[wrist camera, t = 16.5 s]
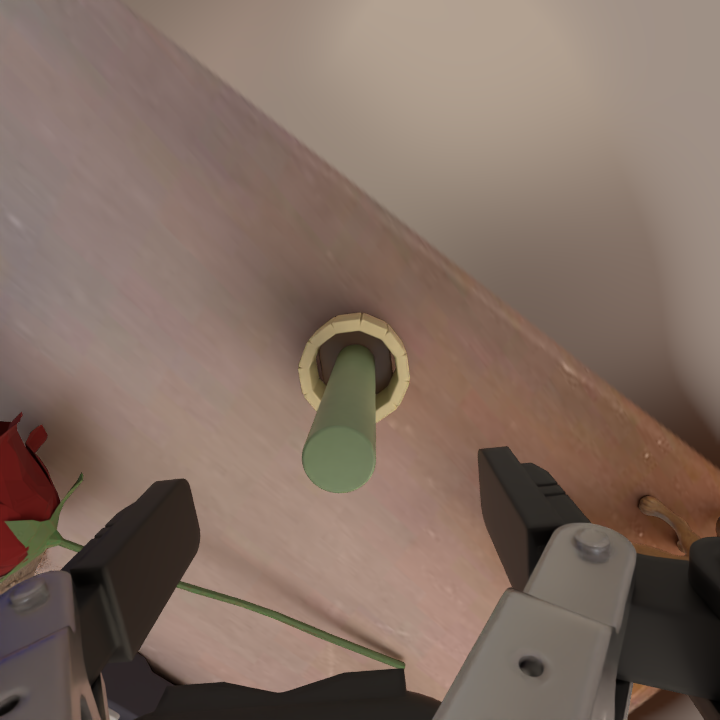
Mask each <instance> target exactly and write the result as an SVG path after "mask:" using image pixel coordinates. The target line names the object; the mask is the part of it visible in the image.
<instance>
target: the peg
mask: <svg viewBox="0 0 720 720" xmlns="http://www.w3.org/2000/svg"><path fill="white" fill-rule="evenodd" d="M319 356H320V363H321V369H322V375H323V381H324V384H325V385H326V389H325V391H324V394H323V397H322V400H321V402H320V405H319V408H318V410H317V413H316V416H315V418H314V421H313V424H312V426H311V429H310V432H309V434H308V437H307V440H306V442H305V445H304V448H303V452H302V464H303V468H304V470H305V472H306V474H307V476H308V477H309V479H310V480H311V481H312V482H313V483H314V484H315V485H316V486H318V487H319V488H321V489H323V490H325V491H329V492H333V493H347V492H351V491H354V490H356V489H358V488H360V487H361V486H362V485H364V484H365V483H366V482H367V481H368V480H369V479H370V477H371V476H372V474H373V472H374V469H375V465H376V407H375V394H378V393H379V392H381V391H382V390H384V389H385V388H386V387H388V385H389V382H390V380H391V378H392V376H393V373H392V364H391V356H390V350H389V349H388V348H387V346H386V345H385V344H384V342H383V341H382V340H381V339H379V338H376V337H374V336H371V335H369V334H366V333H364V332H361V331H353V332H345V333H338V334H335V335H334V336H332V337H331V338H330V339H328V340H327V341H326V342H325V343H323V344H322V345H321V346H320V349H319Z"/></svg>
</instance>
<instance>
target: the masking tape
mask: <svg viewBox="0 0 720 720" xmlns="http://www.w3.org/2000/svg"><path fill="white" fill-rule="evenodd" d="M353 331H361V332H364V333H366V334H369V335H371V336H374V337H376V338H379V339H381V340H382V341H383V342H384V344H385V345H386V346H387V348H388V349H389V350H390V351H391V353H392V354H393V355H394V357H395V365H396V369H395V371H394V373H393V376H392V378H391V380H390V382H389V385H388V387H386V388H385V389H384V390H382V391H381V392H379V393H378V394H377V395H375V407H376V423H377V422H379V421H380V420H382V419H383V418H384V417H386V416H387V415H389V414H390V413H391V412H393V411H394V410H396V409H397V406H399V405H400V403H401V401H402V399H403V397H404V394H405V392H406V390H407V388H408V386H409V380H410V375H409V367H408V358H407V353H406V350H405V348H404V345H403V342H402V341H401V339H400V338H399V337H398V336H397V334H396V333H395V332H394V330H393V329H392V328H391V326H390V325H389V324H386V322H385V321H383V320H380V319H378V318H375V317H373V316H370V315H368V314H366V313H363V314H361V313H352V314H345V315H338V316H336V317H333V318H332V319H331V320H329V321H328V322H327V323H325V324H324V325H323V326H322V327H320V328H319V329H318V330H317V331H316V332H315V333H314V334H313V335H312V337H311V338H310V339H309V341H308V342H307V344H306V346H305V349H304V351H303V354H302V357H301V359H300V362H299V365H298V366H299V368H298V373H299V379H300V384H301V390H302V394H304V397H305V399H306V400H307V401H308V402H309V403H310V405H311V406H312V407H313V408H314V409H315V411H316V412H317V410H318V408H319V405H320V402H321V400H322V397H323V394H324V391H325V389H326V385H325V384H324V383H323V382H322V380H321V379H320V378H319V373H318V367H317V361H316V356H317V354H318V351H319V349H320V346H321V345H322V344H323V343H325V342H326V341H327V340H328V339H330V338H331V337H332V336H334V335H335V334H338V333H345V332H353Z"/></svg>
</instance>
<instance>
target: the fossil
mask: <svg viewBox="0 0 720 720" xmlns="http://www.w3.org/2000/svg"><path fill="white" fill-rule="evenodd" d="M46 549H47V548H46ZM45 551H46V550H45ZM45 551H44V552H43V553H42V554H40V555H39V556H38V557H36V558H35V559H34V560H32V561H31V562H30V563H29V564H27V565H26V566H24V567H23V568H21V569H19V570H18V571H16V572H15V573H13V574H11V575H10V576H8V577H7V578H6V579H5V580H4V581H2V582H1V583H0V595H1V594H3V593H4V592H5V591H7V590H8V589H10V588H11V587H13V586H15V585H16V584H18V583H20V582H22V581H24V580H26V579H28V578H31V577H33V576H34V572H35V569H36V567H37V565H38V563H39V562H40V560H41V558H42V556H43V555H44V553H45ZM3 577H4V576H2V577H0V579H1V578H3Z"/></svg>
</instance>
